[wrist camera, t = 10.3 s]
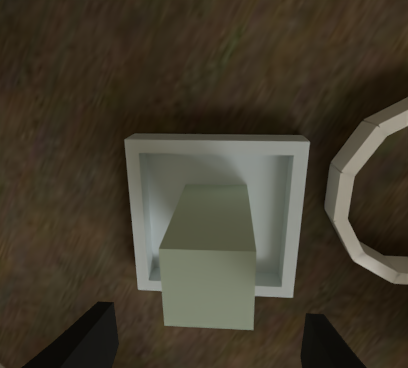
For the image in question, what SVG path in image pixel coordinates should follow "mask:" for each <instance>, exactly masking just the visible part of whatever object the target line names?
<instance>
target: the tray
mask: <svg viewBox="0 0 408 368" xmlns="http://www.w3.org/2000/svg"><path fill="white" fill-rule="evenodd" d="M124 141H125V152H126V163H127V174H128V185H129V196H130V207H131V217H132V228H133V239H134V250H135V261H136V272H137V283H138V290H153V291H162V286H161V274H160V261H159V247H160V244H161V242H162V240H163V237H164V235H165V232H166V230H167V228H168V225H169V223H170V221H171V218H172V216H173V213H174V211H175V209H176V206H177V204H178V202H179V199H180V197H181V194H182V192H183V190H184V187H185V185H186V184H193V185H247V188H248V195H249V202H250V209H251V216H252V223H253V230H254V238H255V245H256V275H255V296H268V297H288V298H293V290H294V281H295V272H296V263H297V254H298V245H299V236H300V227H301V218H302V209H303V200H304V191H305V182H306V173H307V164H308V155H309V145H310V141H309V140H307V139H306V138H305V137H304V136H303V135H240V134H140V133H134V134H133V135H131V136H129V137H128V138H126V139H124Z"/></svg>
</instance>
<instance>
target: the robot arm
mask: <svg viewBox="0 0 408 368" xmlns="http://www.w3.org/2000/svg"><path fill="white" fill-rule="evenodd" d="M118 345H119V342H118V334H117V326H116V318H115V310H114V302H97V303H96V304H95V305H94V306H93V307H92V308H90V309H89V310H88V311H87V312H86V313H85V314H84V315H83V316H82V317H80V318H79V319H78V320H77V321H76V322H75V323H74V324H73V325H72V326H71V327H69V328H68V329H67V330H66V331H65V332H64V333H63V334H62V335H60V336H59V337H58V338H57V339H56V340H55V341H54V342H52V343H51V344H50V345H49V346H48V347H46V348H45V349H44V350H43V351H42V352H40V353H39V354H38V355H37V356H35V357H34V358H33V359H32V360H30V361H29V362H28V363H27V364H26V365H24V366H23V367H22V368H111V367H112V364H113V361H114V358H115V355H116V351H117V348H118ZM301 362H302V368H366V366H365V365H364V364H363V363H362V362H361V361H360V359H359V358H358V357H357V356H356V355H355V354H354V352H353V351H352V350H351V349H350V347H349V346H348V345H347V344H346V342H345V341H344V340H343V339H342V337H341V336H340V335H339V333H338V332H337V331H336V330H335V328H334V327H333V326H332V324H331V323H330V322H329V320H328V319H327V318H326V317H325V316H324V315H323V314H307V313H306V318H305V326H304V334H303V341H302V349H301Z"/></svg>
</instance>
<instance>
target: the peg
mask: <svg viewBox="0 0 408 368" xmlns="http://www.w3.org/2000/svg"><path fill="white" fill-rule="evenodd" d="M159 261H160V274H161V286H162V299H163V312H164V325H165V326H183V327H203V328H223V329H243V330H253V323H254V299H255V275H256V245H255V238H254V230H253V223H252V216H251V209H250V202H249V195H248V188H247V185H193V184H186V185H185V187H184V190H183V192H182V194H181V197H180V199H179V202H178V204H177V206H176V209H175V211H174V213H173V216H172V218H171V221H170V223H169V225H168V228H167V230H166V232H165V235H164V237H163V240H162V242H161V244H160V247H159Z"/></svg>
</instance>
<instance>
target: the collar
mask: <svg viewBox="0 0 408 368" xmlns="http://www.w3.org/2000/svg"><path fill="white" fill-rule="evenodd" d="M406 126H408V97H407V98H405V99H403V100H401V101H399V102H397V103H395V104H393V105H391V106H389V107H387V108H385V109H383V110H381V111H379V112H377V113H375V114H373V115H372V116H370V117H368V118H366V119H364V121H362V122H361V123H360V124H359V126H358V127H357V128H356V130H355V131H354V132H353V133H352V135H351V136H350V137H349V139H348V140H347V141H346V143H345V144H344V145H343V147H342V148H341V149H340V151H339V152H338V153H337V155H336V156H335V157H334V159H333V160H332V161H331V163H332V164H330V168H329V175H328V182H327V190H326V197H325V205H324V208H325V211H326V213H327V215H328V217H329V219H330V221H331V223H332V225H333V227H334V229H335V231H336V233H337V235H338V237H339V239H340V241H341V243H342V245H343V246H344V248H345V249H346V251H347V252H348V254H349V255H350V257H351V258H352V260H353V261H354V262H356V263H358V264H359V265H361V266H363V267H365V268H366V269H368V270H370V271H372V272H373V273H375V274H377V275H379V276H380V277H382V278H384V279H386V280H387V281H389V282H391V283H394V284H408V257H404V256H384V255H382V254H380V253H379V252H377V251H375V250H373V249H372V248H370V247H368V246H367V245H365V244H363V243H361V242H360V241H358V239H357V237H356V235H355V233H354V231H353V229H352V227H351V225H350V223H349V221H348V213H349V207H350V201H351V195H352V189H353V183H354V177H355V175H356V174H357V173H358V171H359V170H360V169H361V168H362V166H363V165H364V164H365V163H366V161H367V160H368V159H369V158H370V156H371V155H372V154H373V153H374V151H375V150H376V149H377V148H378V146H379V145H380V144H381V143H382V141H383V140H384V139H385V138H386V136H388V135H390V134H392V133H394V132H396V131H398V130H400V129H402V128H404V127H406Z"/></svg>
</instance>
